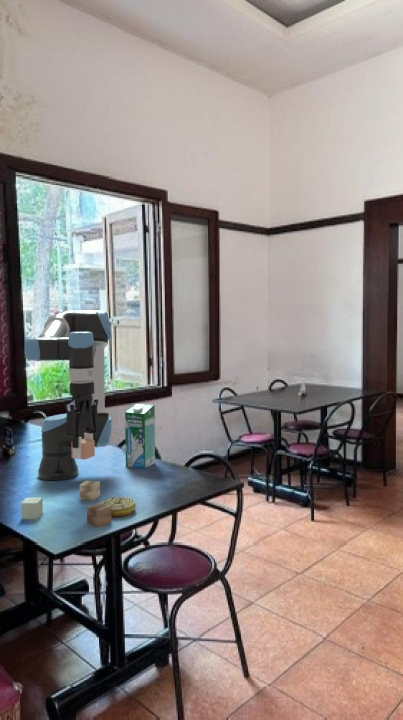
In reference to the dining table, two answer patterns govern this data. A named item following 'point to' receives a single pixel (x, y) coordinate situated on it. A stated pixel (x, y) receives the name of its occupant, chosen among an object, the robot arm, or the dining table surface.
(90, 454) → the terracotta cube
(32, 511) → the sage cube
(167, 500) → the dining table surface
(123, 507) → the decorated donut
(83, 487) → the beech cube
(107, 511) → the walnut cube
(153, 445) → the milk carton
